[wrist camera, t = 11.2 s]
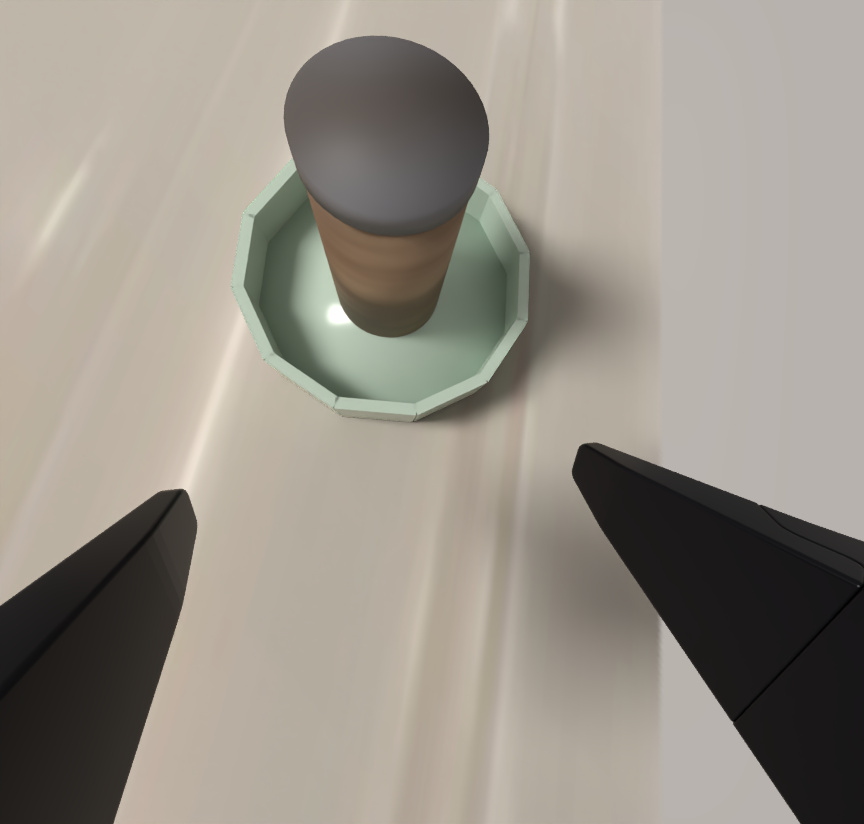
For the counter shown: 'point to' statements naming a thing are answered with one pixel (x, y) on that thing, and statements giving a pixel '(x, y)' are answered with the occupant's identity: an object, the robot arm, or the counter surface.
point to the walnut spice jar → (386, 171)
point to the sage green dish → (363, 352)
